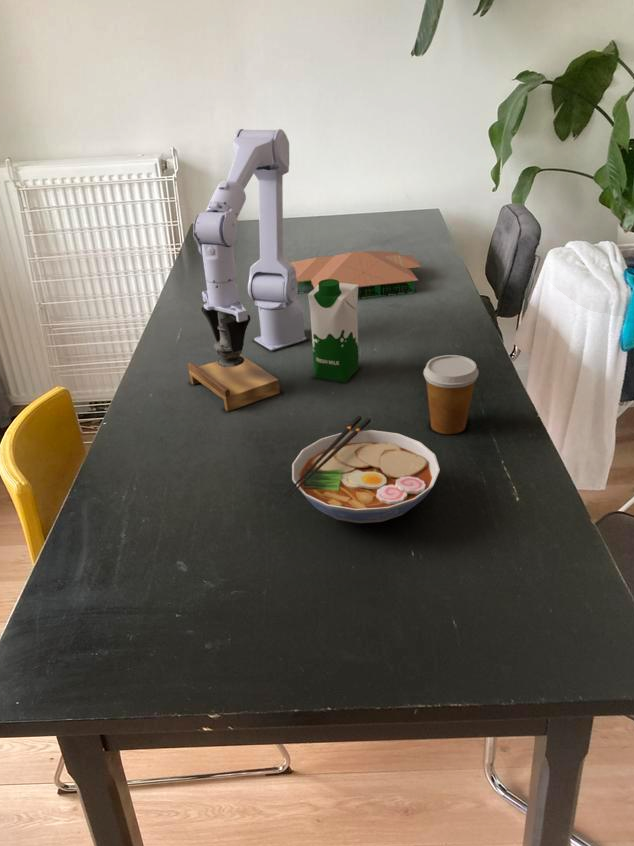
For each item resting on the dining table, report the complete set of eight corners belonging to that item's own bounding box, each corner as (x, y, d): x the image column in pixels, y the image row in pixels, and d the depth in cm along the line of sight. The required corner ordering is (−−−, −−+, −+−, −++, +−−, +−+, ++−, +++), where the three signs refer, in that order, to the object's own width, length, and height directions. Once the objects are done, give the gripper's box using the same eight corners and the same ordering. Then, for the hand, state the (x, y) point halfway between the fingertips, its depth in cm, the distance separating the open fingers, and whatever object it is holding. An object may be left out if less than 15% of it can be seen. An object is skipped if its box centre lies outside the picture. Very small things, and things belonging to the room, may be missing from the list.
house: (428, 291, 201) (429, 259, 197) (298, 306, 199) (296, 273, 194) (407, 262, 220) (407, 232, 215) (287, 275, 218) (285, 244, 213)
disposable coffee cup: (478, 416, 149) (483, 356, 142) (470, 441, 142) (474, 380, 135) (427, 410, 152) (429, 351, 145) (416, 435, 145) (418, 374, 138)
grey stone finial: (241, 368, 158) (234, 309, 151) (212, 367, 159) (204, 309, 152) (248, 355, 163) (242, 298, 156) (221, 354, 164) (213, 297, 157)
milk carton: (308, 379, 166) (302, 284, 154) (326, 361, 172) (321, 269, 161) (348, 385, 162) (345, 289, 151) (364, 366, 169) (362, 272, 157)
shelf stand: (240, 366, 173) (238, 347, 170) (279, 393, 162) (278, 372, 159) (190, 383, 168) (187, 363, 165) (227, 411, 157) (224, 390, 154)
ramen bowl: (394, 572, 114) (394, 526, 110) (262, 528, 125) (257, 484, 120) (464, 484, 131) (467, 441, 126) (342, 452, 142) (340, 411, 137)
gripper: (184, 273, 155) (194, 339, 163) (220, 293, 145) (229, 363, 152) (217, 264, 158) (225, 330, 166) (254, 284, 148) (261, 352, 155)
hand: (229, 345), depth 159 cm, fingers closed on grey stone finial, 6 cm apart
